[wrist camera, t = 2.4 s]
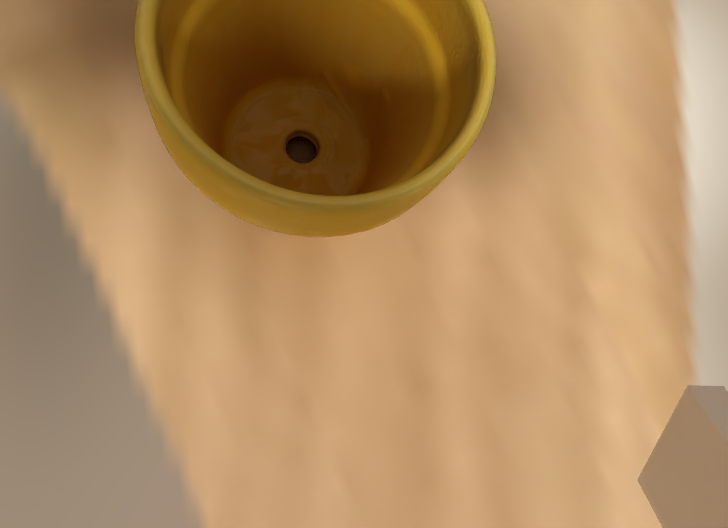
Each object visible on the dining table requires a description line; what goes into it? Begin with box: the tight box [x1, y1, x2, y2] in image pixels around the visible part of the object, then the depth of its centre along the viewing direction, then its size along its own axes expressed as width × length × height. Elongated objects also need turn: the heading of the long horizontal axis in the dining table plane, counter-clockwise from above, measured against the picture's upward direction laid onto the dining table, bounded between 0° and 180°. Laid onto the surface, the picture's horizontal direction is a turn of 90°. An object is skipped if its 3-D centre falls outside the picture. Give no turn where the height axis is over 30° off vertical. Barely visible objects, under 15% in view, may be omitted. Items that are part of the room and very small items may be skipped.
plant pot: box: [135, 0, 496, 237], centre depth 24 cm, size 10×10×10 cm
